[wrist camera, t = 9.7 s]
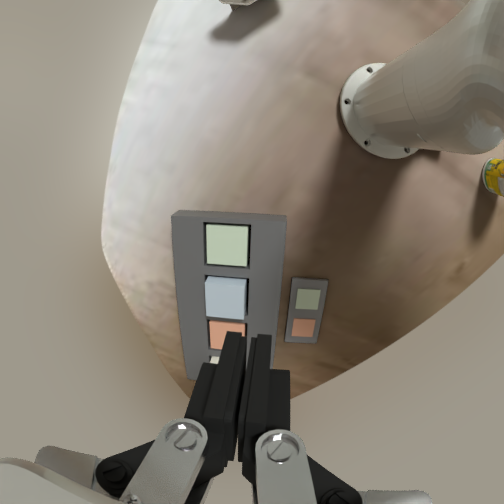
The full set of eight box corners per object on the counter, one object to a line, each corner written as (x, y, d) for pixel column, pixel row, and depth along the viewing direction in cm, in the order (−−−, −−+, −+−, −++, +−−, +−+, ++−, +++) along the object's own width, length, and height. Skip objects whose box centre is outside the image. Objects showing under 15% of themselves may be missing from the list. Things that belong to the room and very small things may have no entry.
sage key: (250, 221, 36) (247, 227, 34) (248, 258, 38) (246, 266, 35) (211, 219, 36) (206, 225, 34) (211, 255, 38) (207, 263, 36)
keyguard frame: (286, 215, 36) (286, 221, 33) (270, 376, 46) (270, 388, 43) (179, 210, 37) (171, 215, 34) (191, 367, 47) (187, 378, 44)
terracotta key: (246, 314, 41) (244, 325, 39) (245, 340, 43) (243, 351, 41) (213, 311, 42) (209, 321, 39) (214, 337, 43) (210, 348, 41)
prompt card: (327, 279, 38) (328, 281, 38) (316, 341, 42) (316, 344, 42) (292, 277, 39) (292, 279, 38) (284, 339, 43) (284, 342, 42)
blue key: (247, 276, 37) (244, 286, 35) (246, 308, 39) (243, 319, 37) (209, 273, 38) (204, 282, 35) (210, 305, 39) (206, 316, 37)
